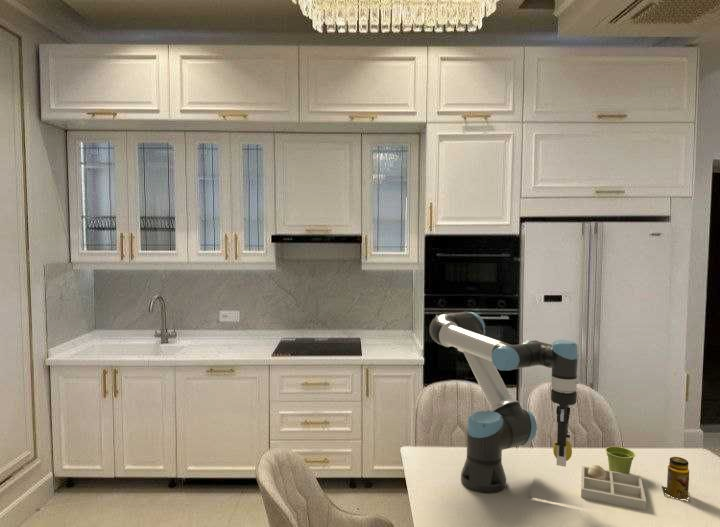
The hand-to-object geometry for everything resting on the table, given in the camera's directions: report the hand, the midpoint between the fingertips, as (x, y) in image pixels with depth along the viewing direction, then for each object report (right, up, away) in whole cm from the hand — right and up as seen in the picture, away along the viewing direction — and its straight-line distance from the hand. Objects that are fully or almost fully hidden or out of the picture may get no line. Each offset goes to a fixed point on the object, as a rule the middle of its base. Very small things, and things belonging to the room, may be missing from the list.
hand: (561, 461), depth 165 cm
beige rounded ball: (+17, -12, +12) cm, 24 cm away
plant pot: (+28, -13, +19) cm, 36 cm away
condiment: (+40, -13, +6) cm, 42 cm away
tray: (+19, -13, +6) cm, 24 cm away
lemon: (0, -1, 0) cm, 1 cm away
